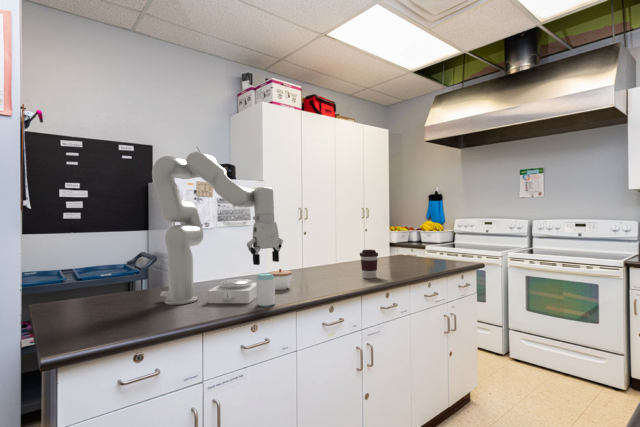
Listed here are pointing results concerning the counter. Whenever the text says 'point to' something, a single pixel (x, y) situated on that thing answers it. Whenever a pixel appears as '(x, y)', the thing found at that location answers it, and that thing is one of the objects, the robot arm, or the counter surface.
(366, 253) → the coffee cup
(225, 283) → the scale pan
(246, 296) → the scale base
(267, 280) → the can
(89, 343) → the counter surface
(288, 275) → the lidded jar
